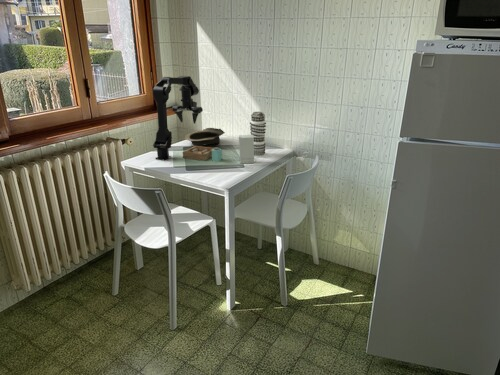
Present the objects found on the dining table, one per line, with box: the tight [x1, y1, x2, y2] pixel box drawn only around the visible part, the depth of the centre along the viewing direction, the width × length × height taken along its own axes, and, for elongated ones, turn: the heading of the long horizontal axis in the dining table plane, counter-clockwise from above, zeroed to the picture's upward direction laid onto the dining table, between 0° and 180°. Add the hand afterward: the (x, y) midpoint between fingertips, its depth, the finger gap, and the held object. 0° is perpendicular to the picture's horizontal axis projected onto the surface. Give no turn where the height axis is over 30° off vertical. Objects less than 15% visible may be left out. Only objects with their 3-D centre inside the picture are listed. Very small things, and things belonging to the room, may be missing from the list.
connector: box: [211, 146, 223, 162], centre depth 216 cm, size 4×4×7 cm
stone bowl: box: [184, 127, 226, 147], centre depth 245 cm, size 25×25×9 cm
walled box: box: [182, 145, 215, 162], centre depth 224 cm, size 14×14×4 cm
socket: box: [192, 148, 207, 154], centre depth 224 cm, size 5×7×3 cm
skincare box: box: [238, 134, 255, 164], centre depth 211 cm, size 8×6×15 cm
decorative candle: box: [249, 111, 267, 158], centre depth 220 cm, size 9×9×25 cm
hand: (188, 122), depth 239 cm, fingers open, 9 cm apart
